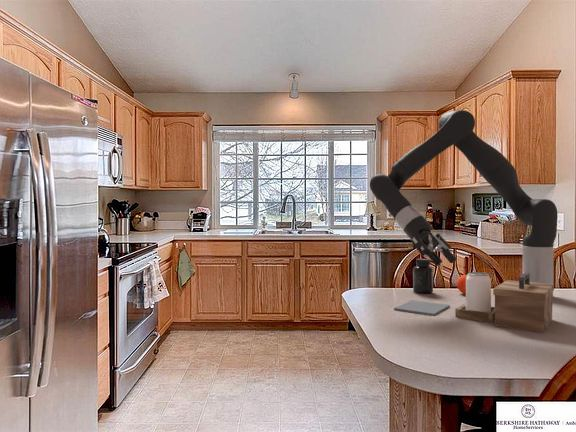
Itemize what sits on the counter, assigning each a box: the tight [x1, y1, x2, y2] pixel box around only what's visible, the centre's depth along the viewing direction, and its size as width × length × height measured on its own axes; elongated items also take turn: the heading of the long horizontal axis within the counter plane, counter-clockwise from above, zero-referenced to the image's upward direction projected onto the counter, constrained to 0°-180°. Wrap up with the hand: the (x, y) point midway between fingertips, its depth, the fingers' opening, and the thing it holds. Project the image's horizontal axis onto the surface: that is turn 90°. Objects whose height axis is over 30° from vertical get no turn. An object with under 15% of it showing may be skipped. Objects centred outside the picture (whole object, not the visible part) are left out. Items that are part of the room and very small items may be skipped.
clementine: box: [456, 273, 468, 295], centre depth 154 cm, size 8×7×7 cm
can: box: [465, 271, 492, 313], centre depth 123 cm, size 6×6×12 cm
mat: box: [393, 300, 451, 317], centre depth 133 cm, size 14×12×1 cm
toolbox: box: [454, 273, 555, 334], centre depth 119 cm, size 17×22×13 cm
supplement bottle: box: [412, 258, 434, 295], centre depth 158 cm, size 7×7×12 cm
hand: (447, 262), depth 130 cm, fingers open, 8 cm apart
